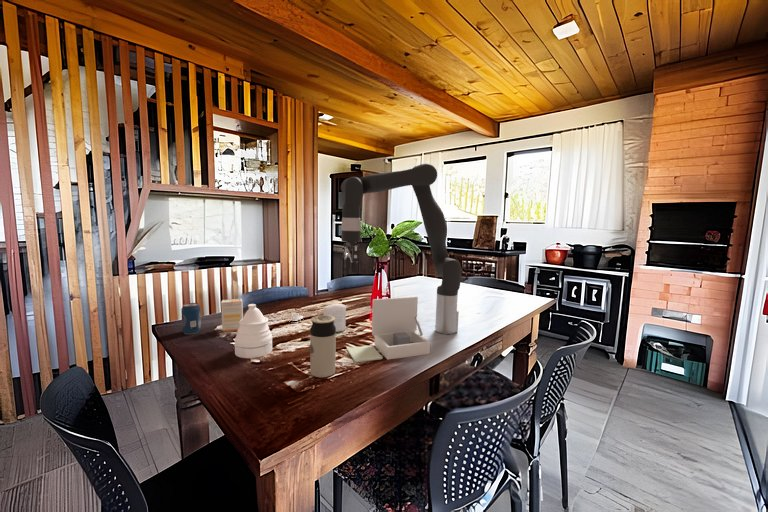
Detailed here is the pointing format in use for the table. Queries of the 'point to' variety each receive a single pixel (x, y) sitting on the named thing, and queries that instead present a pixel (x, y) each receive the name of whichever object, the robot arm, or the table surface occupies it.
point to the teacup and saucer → (296, 317)
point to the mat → (364, 353)
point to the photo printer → (337, 315)
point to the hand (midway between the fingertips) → (350, 270)
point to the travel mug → (322, 346)
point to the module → (401, 338)
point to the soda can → (191, 318)
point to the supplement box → (231, 314)
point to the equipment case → (397, 327)
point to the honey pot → (253, 335)
